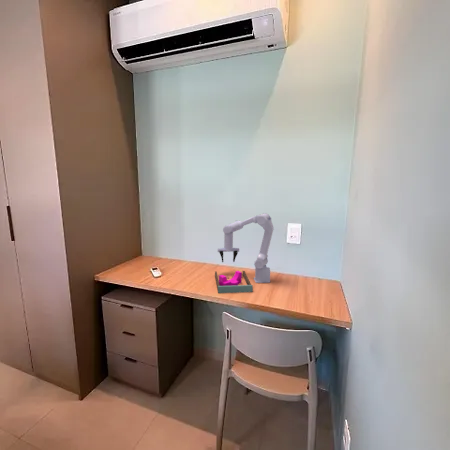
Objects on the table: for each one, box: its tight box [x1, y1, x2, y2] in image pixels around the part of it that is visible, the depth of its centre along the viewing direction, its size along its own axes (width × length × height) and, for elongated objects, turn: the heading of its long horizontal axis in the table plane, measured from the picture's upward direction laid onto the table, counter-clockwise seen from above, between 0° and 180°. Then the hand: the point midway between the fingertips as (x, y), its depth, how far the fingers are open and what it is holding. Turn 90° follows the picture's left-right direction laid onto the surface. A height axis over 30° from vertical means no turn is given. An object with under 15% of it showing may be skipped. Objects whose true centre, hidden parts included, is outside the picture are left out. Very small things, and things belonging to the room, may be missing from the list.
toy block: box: [218, 270, 243, 286], centre depth 168 cm, size 15×6×8 cm, turn 127°
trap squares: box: [217, 274, 244, 280], centre depth 183 cm, size 16×6×1 cm, turn 96°
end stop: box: [217, 284, 254, 294], centre depth 159 cm, size 20×1×4 cm, turn 96°
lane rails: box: [214, 270, 252, 291], centre depth 173 cm, size 20×26×3 cm
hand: (228, 261), depth 185 cm, fingers open, 7 cm apart
